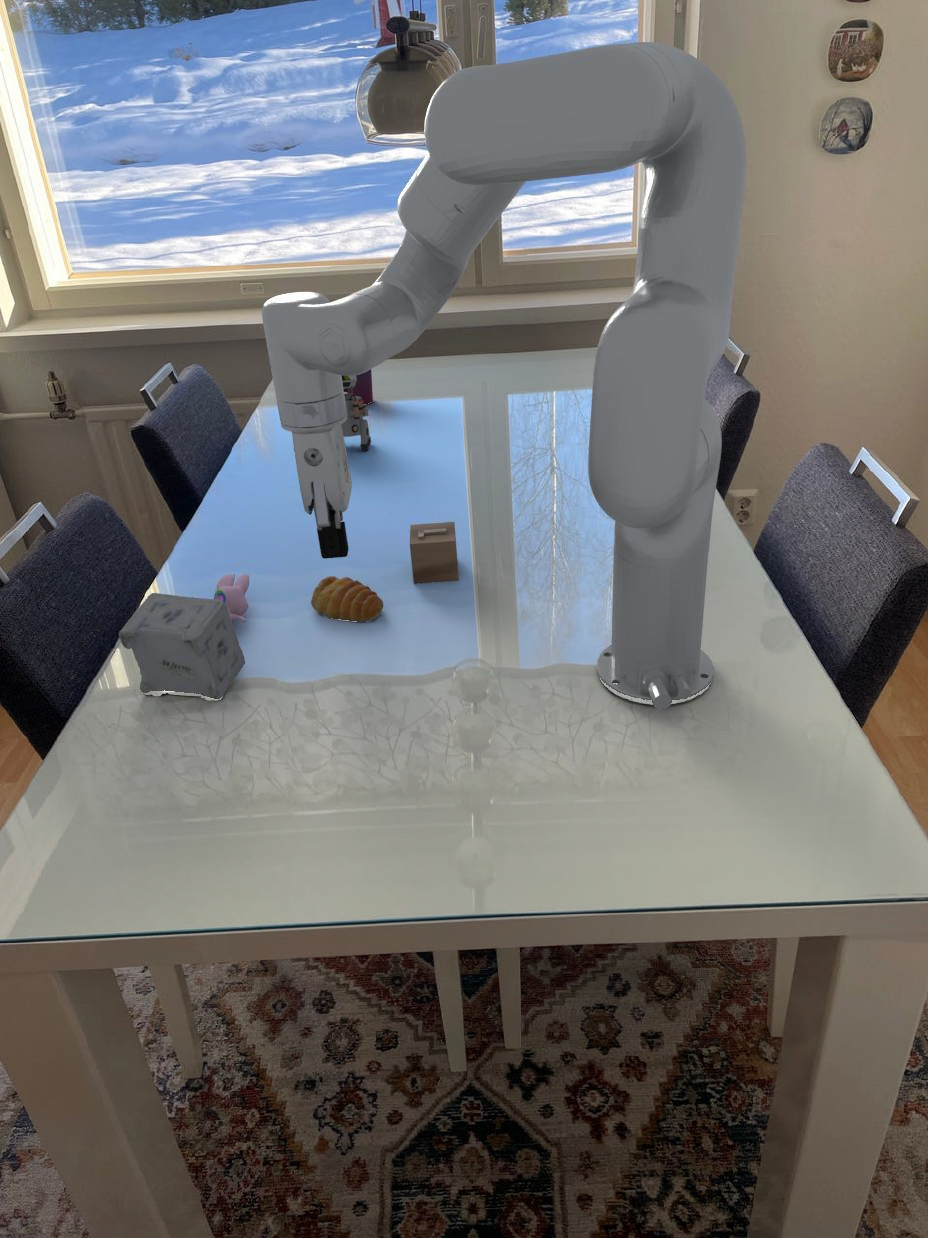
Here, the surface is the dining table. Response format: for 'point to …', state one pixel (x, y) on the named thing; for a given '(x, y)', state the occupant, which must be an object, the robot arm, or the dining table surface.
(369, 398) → the cup
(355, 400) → the figurine
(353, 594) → the pastry
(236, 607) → the rabbit figure
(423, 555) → the lettered block
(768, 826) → the dining table surface
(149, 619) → the incense holder
